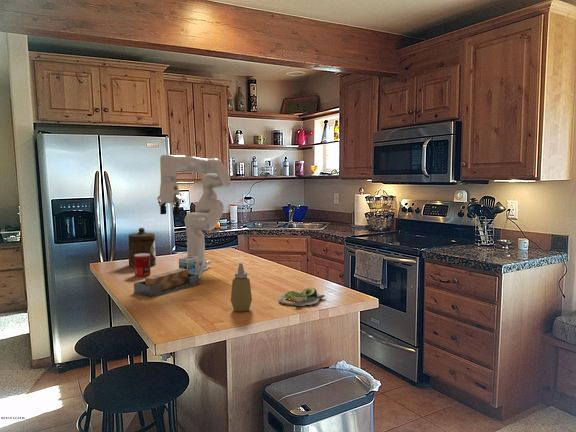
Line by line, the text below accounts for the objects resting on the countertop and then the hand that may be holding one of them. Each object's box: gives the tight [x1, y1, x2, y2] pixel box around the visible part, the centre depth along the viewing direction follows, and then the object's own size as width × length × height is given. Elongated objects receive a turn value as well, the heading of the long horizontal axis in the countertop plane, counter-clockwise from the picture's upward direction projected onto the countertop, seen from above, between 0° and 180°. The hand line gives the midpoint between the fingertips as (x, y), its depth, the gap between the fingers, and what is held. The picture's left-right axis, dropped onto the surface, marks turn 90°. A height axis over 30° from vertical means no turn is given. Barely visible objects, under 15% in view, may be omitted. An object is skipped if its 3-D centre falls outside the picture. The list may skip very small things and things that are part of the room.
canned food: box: [134, 253, 151, 278], centre depth 222 cm, size 8×8×11 cm
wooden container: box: [127, 227, 157, 269], centre depth 248 cm, size 15×15×22 cm
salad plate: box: [277, 287, 326, 307], centre depth 174 cm, size 19×18×5 cm
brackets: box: [133, 273, 200, 298], centre depth 195 cm, size 27×12×4 cm, turn 144°
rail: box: [144, 268, 188, 290], centre depth 195 cm, size 22×4×6 cm, turn 151°
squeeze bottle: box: [230, 262, 253, 312], centre depth 162 cm, size 8×8×18 cm
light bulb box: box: [178, 255, 204, 279], centre depth 215 cm, size 11×7×11 cm, turn 148°
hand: (169, 214), depth 212 cm, fingers open, 9 cm apart
